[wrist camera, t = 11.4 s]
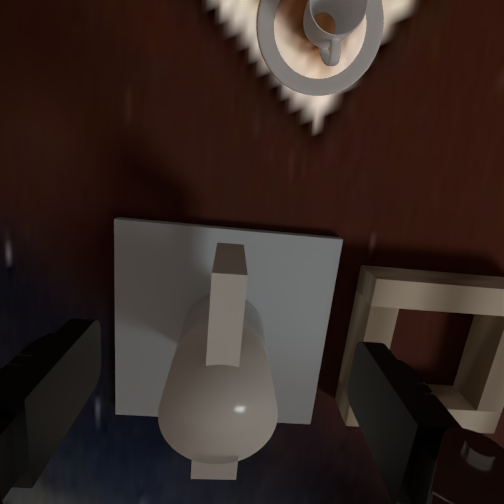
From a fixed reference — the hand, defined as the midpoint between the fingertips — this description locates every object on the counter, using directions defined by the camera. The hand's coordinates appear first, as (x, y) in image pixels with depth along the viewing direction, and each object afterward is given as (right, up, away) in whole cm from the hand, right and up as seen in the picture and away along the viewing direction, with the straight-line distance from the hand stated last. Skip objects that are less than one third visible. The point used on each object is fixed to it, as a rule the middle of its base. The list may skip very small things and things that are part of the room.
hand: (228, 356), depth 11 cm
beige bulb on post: (-1, -1, +15) cm, 15 cm away
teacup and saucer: (+7, +19, +11) cm, 24 cm away
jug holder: (+14, -4, +17) cm, 23 cm away
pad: (-2, -3, +16) cm, 16 cm away
